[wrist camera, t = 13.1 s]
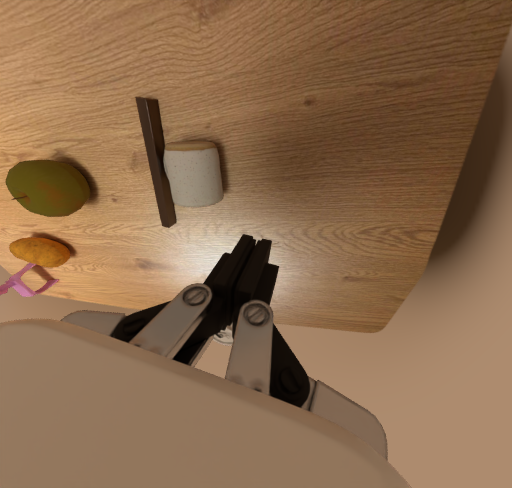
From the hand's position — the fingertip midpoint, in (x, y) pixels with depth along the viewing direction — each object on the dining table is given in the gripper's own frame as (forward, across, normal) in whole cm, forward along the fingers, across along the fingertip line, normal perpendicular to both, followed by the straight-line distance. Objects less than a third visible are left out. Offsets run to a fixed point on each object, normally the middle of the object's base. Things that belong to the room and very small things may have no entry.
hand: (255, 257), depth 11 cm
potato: (+20, +61, +30) cm, 71 cm away
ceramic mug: (+21, +15, +2) cm, 26 cm away
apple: (+20, +42, +9) cm, 48 cm away
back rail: (+21, +22, +3) cm, 30 cm away
